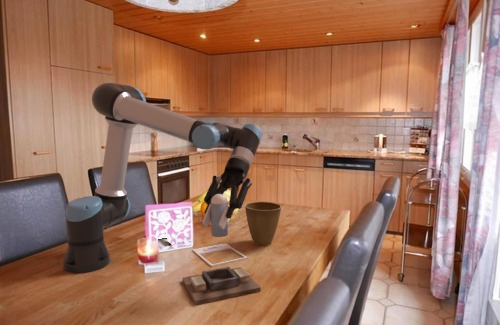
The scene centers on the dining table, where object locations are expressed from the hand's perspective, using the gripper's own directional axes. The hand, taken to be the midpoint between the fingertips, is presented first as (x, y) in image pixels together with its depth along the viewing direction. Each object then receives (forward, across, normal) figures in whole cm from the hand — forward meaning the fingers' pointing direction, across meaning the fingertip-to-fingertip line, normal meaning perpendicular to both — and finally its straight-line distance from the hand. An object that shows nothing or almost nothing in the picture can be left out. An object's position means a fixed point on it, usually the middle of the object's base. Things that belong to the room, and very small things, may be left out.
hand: (212, 225), depth 105 cm
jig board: (+12, 0, -17) cm, 21 cm away
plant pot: (-17, +4, -46) cm, 50 cm away
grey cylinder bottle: (0, 0, -5) cm, 5 cm away
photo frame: (-3, +14, -33) cm, 36 cm away
